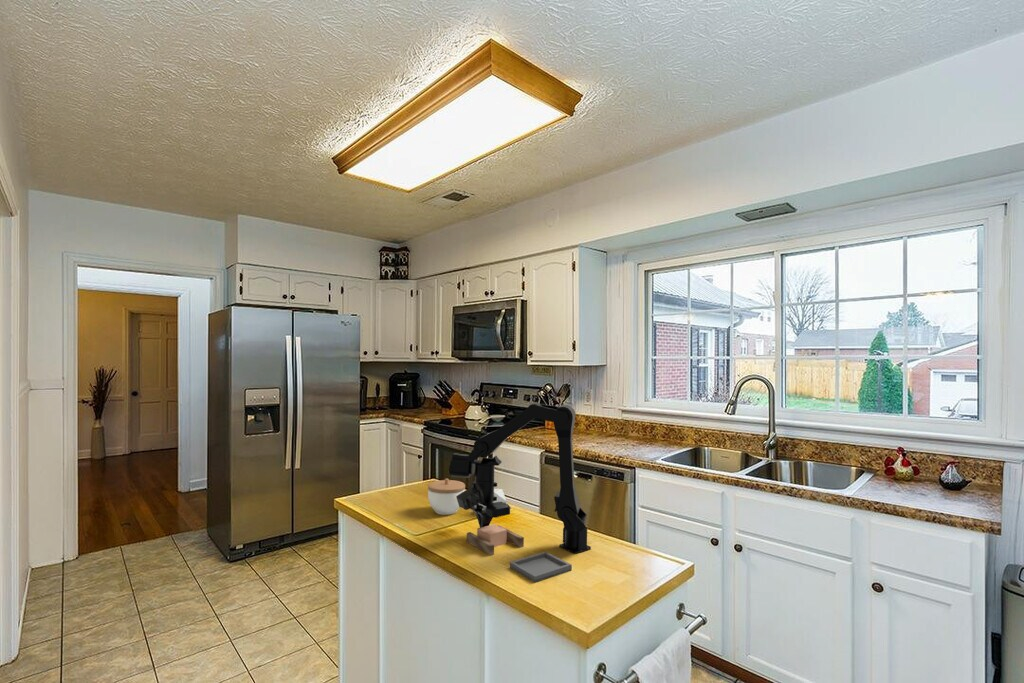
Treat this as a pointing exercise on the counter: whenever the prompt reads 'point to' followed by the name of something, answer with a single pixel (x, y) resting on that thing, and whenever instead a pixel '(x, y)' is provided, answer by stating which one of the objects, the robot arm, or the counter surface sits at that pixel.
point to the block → (493, 534)
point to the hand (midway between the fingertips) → (483, 532)
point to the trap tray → (540, 566)
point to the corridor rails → (489, 547)
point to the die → (499, 495)
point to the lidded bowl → (445, 495)
